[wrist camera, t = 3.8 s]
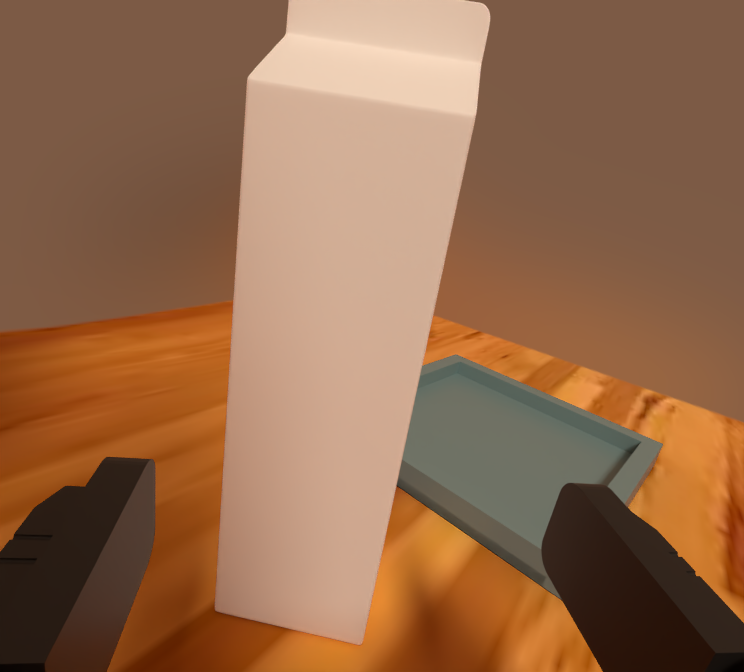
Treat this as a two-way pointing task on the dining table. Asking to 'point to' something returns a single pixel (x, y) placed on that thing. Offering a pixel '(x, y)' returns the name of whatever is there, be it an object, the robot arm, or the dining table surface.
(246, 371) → the milk
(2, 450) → the dining table surface
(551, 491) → the tray
